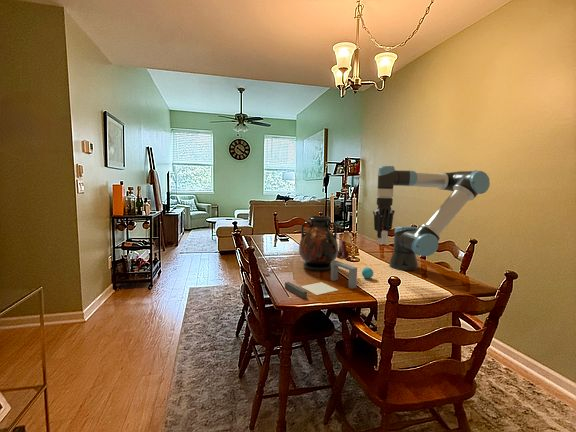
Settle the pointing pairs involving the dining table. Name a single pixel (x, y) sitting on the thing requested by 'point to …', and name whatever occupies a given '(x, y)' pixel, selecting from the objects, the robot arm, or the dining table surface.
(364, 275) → the ball
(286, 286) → the stopper
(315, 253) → the amphora vase
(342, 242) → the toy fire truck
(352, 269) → the bridge
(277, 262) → the dining table surface
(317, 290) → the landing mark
